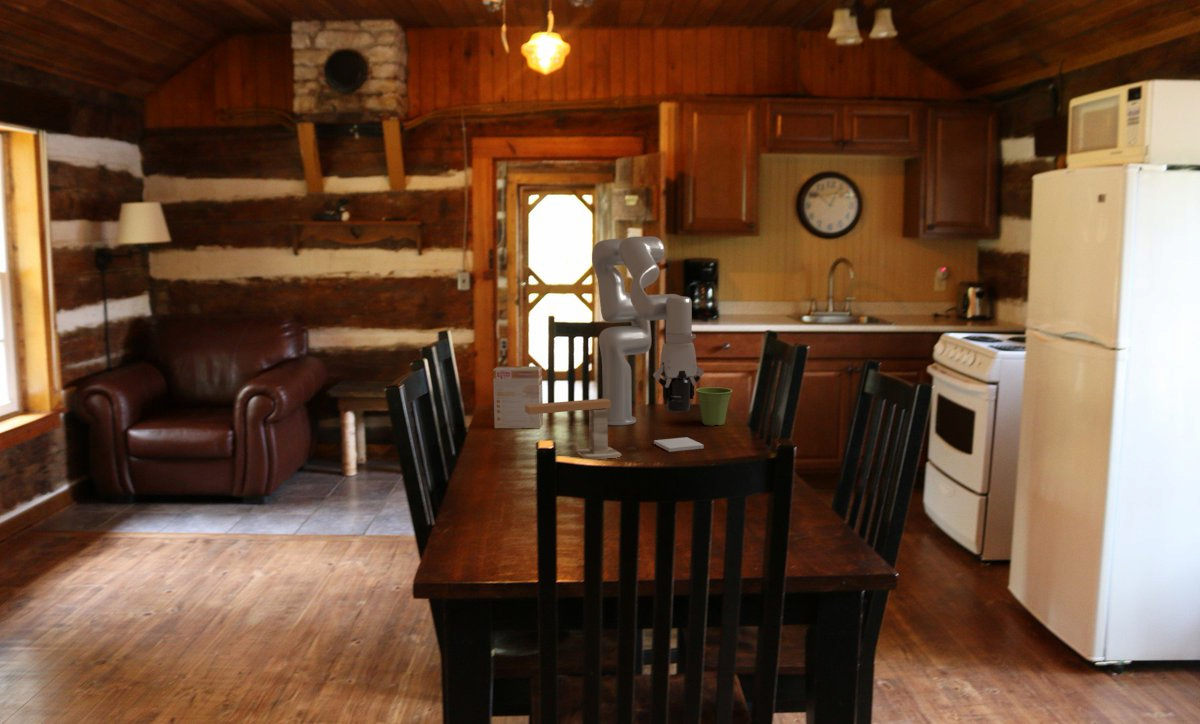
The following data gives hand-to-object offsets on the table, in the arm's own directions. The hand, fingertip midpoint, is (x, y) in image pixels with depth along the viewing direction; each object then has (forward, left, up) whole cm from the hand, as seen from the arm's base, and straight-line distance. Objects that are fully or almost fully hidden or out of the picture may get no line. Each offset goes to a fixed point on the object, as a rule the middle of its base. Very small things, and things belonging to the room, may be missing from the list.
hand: (678, 398), depth 291 cm
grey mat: (0, 0, -14) cm, 14 cm away
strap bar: (+2, -35, 0) cm, 35 cm away
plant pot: (-24, +24, -14) cm, 37 cm away
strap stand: (+2, -26, -14) cm, 30 cm away
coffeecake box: (-45, -36, -14) cm, 59 cm away
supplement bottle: (0, 0, -3) cm, 3 cm away
